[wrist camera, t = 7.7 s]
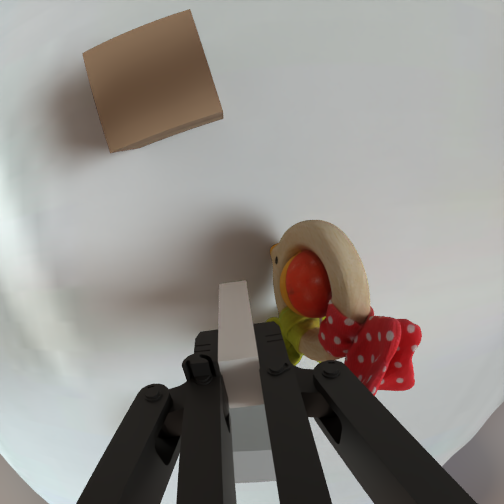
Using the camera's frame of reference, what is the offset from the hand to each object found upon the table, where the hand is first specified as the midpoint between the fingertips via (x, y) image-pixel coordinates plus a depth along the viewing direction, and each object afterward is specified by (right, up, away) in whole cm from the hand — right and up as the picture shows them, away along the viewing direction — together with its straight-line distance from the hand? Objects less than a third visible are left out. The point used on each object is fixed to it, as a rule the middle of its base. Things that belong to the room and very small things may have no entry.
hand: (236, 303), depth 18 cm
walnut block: (-4, +12, -2) cm, 12 cm away
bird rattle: (+3, +1, +2) cm, 4 cm away
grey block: (0, -10, +7) cm, 12 cm away
